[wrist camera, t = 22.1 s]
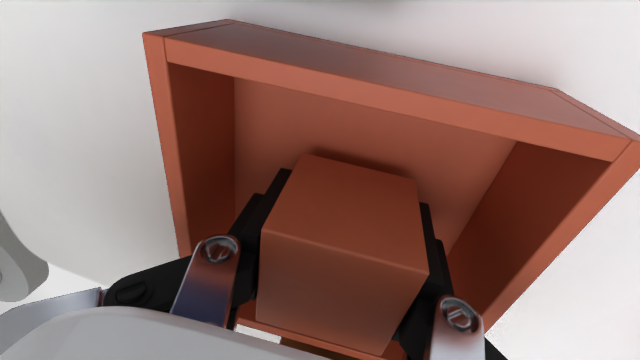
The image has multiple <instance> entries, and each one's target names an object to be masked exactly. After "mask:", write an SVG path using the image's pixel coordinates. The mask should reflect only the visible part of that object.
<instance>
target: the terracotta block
mask: <svg viewBox="0 0 640 360" xmlns="http://www.w3.org/2000/svg"><path fill="white" fill-rule="evenodd" d="M428 276H429V266H428V260H427V253H426V246H425V240H424V233H423V226H422V220H421V213H420V207H419V200H418V193H417V187H416V181H415V180H413V179H409V178H405V177H401V176H397V175H393V174H388V173H384V172H380V171H376V170H372V169H368V168H364V167H360V166H355V165H351V164H347V163H343V162H339V161H335V160H331V159H327V158H322V157H318V156H314V155H310V154H306V153H302V154H301V156H300V158H299V160H298V162H297V163H296V165H295V167H294V169H293V171H292V173H291V175H290V177H289V178H288V180H287V182H286V184H285V186H284V188H283V190H282V191H281V193H280V195H279V197H278V199H277V201H276V203H275V204H274V206H273V208H272V210H271V212H270V214H269V216H268V218H267V219H266V221H265V223H264V225H263V227H262V229H261V240H260V256H259V272H258V288H257V303H256V320H257V321H259V322H263V323H266V324H270V325H273V326H277V327H280V328H284V329H287V330H290V331H294V332H297V333H301V334H304V335H308V336H311V337H315V338H318V339H322V340H325V341H328V342H332V343H335V344H339V345H342V346H346V347H349V348H353V349H356V350H360V351H363V352H367V353H370V354H373V355H377V356H381V355H382V353H383V352H384V350H385V348H386V347H387V345H388V343H389V342H390V340H391V338H392V336H393V335H394V333H395V331H396V330H397V328H398V326H399V325H400V323H401V321H402V320H403V318H404V316H405V315H406V313H407V311H408V310H409V308H410V306H411V304H412V303H413V301H414V299H415V298H416V296H417V294H418V293H419V291H420V289H421V288H422V286H423V284H424V283H425V281H426V279H427V278H428Z"/></svg>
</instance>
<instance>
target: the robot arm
mask: <svg viewBox="0 0 640 360" xmlns="http://www.w3.org/2000/svg"><path fill="white" fill-rule="evenodd" d="M292 171H293V170H290V169H286V168H280V170H279V171H278V173H277V175H276V176H275V178H274V180H273V181H272V183H271V184H270V186H269V188H268V189H267V191H266V193H265V194H260V193H254V194H253V195H252V197H251V198H250V200H249V201H248V203H247V204H246V206H245V207H244V209H243V210H242V212H241V213H240V215H239V216H238V218H237V219H236V221H235V222H234V224H233V225H232V227H231V228H230V230H229V231H228V233H227V234H214V235H210V236H208V237H206V238H204V239H203V240H202V241H200V242H199V243H198V245H197V247H196V249H195V251H194V253H193V254H192V255H189V256H186V257H183V258H180V259H177V260H174V261H171V262H168V263H165V264H162V265H159V266H156V267H153V268H149V269H146V270H143V271H140V272H137V273H134V274H131V275H128V276H126V277H124V278H121V279H120V280H118V281H117V282H115V283H114V284H113V285H112V286H111V287H110V288H109V289H105V290H102V289H101V287H98V288H93V289H89V290H85V291H80V292H76V293H72V294H67V295H63V296H58V297H54V298H50V299H45V300H41V301H37V302H32V303H28V304H24V305H21V306H18V307H15V308H12V309H10V310H9V311H7V312H5V313H3V314H2V315H0V360H332V359H328V358H325V357H322V356H318V355H315V354H311V353H308V352H304V351H301V350H298V349H294V348H291V347H287V346H284V345H280V344H277V343H273V342H270V341H267V340H263V339H260V338H256V337H253V336H249V335H246V334H242V333H239V332H235V331H236V326H237V321H238V315H239V310H240V305H242V304H245V303H247V302H249V300H253V301H255V299H256V296H257V288H258V272H259V256H260V240H261V229H262V227H263V225H264V223H265V221H266V219H267V218H268V216H269V214H270V212H271V210H272V208H273V206H274V204H275V203H276V201H277V199H278V197H279V195H280V193H281V191H282V190H283V188H284V186H285V184H286V182H287V180H288V178H289V177H290V175H291V173H292ZM419 207H420V213H421V220H422V226H423V233H424V240H425V246H426V253H427V260H428V266H429V276H428V278H427V279H426V281H425V283H424V284H423V286H422V288H421V289H420V291H419V293H418V294H417V296H416V298H415V299H414V301H413V303H412V304H411V306H410V308H409V310H408V311H407V313H406V315H405V316H404V318H403V320H402V321H401V323H400V325H399V326H398V328H397V330H396V331H395V333H394V335H393V336H392V338H391V340H394V341H397V342H399V345H400V346H401V347H402V348H403V350H404V353H403V358H402V360H508V359H507V358H506V357H504V356H503V355H502V354H501V353H500V352H499V351H498V350H497V349H496V348H495V347H494V346H493V345H492V344H491V343H490V342H489V341H488V340H487V339H486V338H485V337H484V324H483V320H482V318H481V316H480V314H479V312H478V311H477V310H476V309H475V307H474V306H472V305H471V304H470V303H469V302H468V301H466V300H464V299H463V298H461V297H458V296H455V294H454V290H453V285H452V281H451V276H450V272H449V267H448V263H447V258H446V254H445V249H444V245H443V242H442V241H441V240H440V239H436V238H435V234H434V229H433V224H432V219H431V213H430V208H429V204H427V203H423V202H419ZM1 281H2V276H1V272H0V283H1Z"/></svg>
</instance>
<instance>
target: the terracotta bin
mask: <svg viewBox="0 0 640 360" xmlns="http://www.w3.org/2000/svg"><path fill="white" fill-rule="evenodd" d="M142 37H143V43H144V49H145V55H146V61H147V67H148V73H149V79H150V85H151V91H152V96H153V102H154V108H155V114H156V120H157V126H158V132H159V138H160V144H161V150H162V156H163V161H164V167H165V173H166V179H167V185H168V191H169V197H170V203H171V209H172V215H173V221H174V226H175V232H176V238H177V244H178V250H179V256H180V258H183V257H186V256H189V255H192V254H193V253H194V251H195V249H196V247H197V245H198V243H199V242H200V241H202V240H203V239H204V238H206V237H208V236H210V235H214V234H227V233H228V231H229V230H230V228H231V227H232V225H233V224H234V222H235V221H236V219H237V218H238V216H239V215H240V213H241V212H242V210H243V209H244V207H245V206H246V204H247V203H248V201H249V200H250V198H251V197H252V195H253V194H254V193H260V194H265V193H266V191H267V189H268V188H269V186H270V184H271V183H272V181H273V180H274V178H275V176H276V175H277V173H278V171H279V170H280V168H286V169H290V170H293V169H294V167H295V165H296V163H297V162H298V160H299V158H300V156H301V154H302V153H306V154H310V155H314V156H318V157H322V158H327V159H331V160H335V161H339V162H343V163H347V164H351V165H355V166H360V167H364V168H368V169H372V170H376V171H380V172H384V173H388V174H393V175H397V176H401V177H405V178H409V179H413V180H415V181H416V187H417V193H418V200H419V202H423V203H427V204H429V208H430V213H431V219H432V224H433V229H434V234H435V238H436V239H440V240H441V241H442V242H443V245H444V249H445V254H446V258H447V263H448V267H449V272H450V276H451V281H452V285H453V290H454V294H455V296H458V297H461V298H463V299H464V300H466V301H468V302H469V303H470V304H471V305H472V306H474V307H475V309H476V310H477V311H478V312H479V314H480V316H481V318H482V320H483V324H484V334H485V333H486V332H487V331H488V330H489V329H490V328H491V327H492V326H493V325H494V323H495V322H496V321H497V320H498V319H499V318H500V317H501V316H502V315H503V314H504V313H505V312H506V311H507V310H508V308H509V307H510V306H511V305H512V304H513V303H514V302H515V301H516V300H517V299H518V298H519V297H520V296H521V295H522V293H523V292H524V291H525V290H526V289H527V288H528V287H529V286H530V285H531V284H532V283H533V282H534V281H535V280H536V279H537V277H538V276H539V275H540V274H541V273H542V272H543V271H544V270H545V269H546V268H547V267H548V266H549V265H550V264H551V262H552V261H553V260H554V259H555V258H556V257H557V256H558V255H559V254H560V253H561V252H562V251H563V250H564V249H565V247H566V246H567V245H568V244H569V243H570V242H571V241H572V240H573V239H574V238H575V237H576V236H577V235H578V234H579V233H580V231H581V230H582V229H583V228H584V227H585V226H586V225H587V224H588V223H589V222H590V221H591V220H592V219H593V218H594V216H595V215H596V214H597V213H598V212H599V211H600V210H601V209H602V208H603V207H604V206H605V205H606V204H607V203H608V201H609V200H610V199H611V198H612V197H613V196H614V195H615V194H616V193H617V192H618V191H619V190H620V189H621V188H622V187H623V185H624V184H625V183H626V182H627V181H628V180H629V179H630V178H631V177H632V176H633V175H634V174H635V173H636V172H637V170H638V169H639V168H640V135H639V134H637V133H635V132H634V131H632V130H630V129H628V128H626V127H625V126H623V125H621V124H619V123H617V122H615V121H614V120H612V119H610V118H608V117H606V116H605V115H603V114H601V113H599V112H597V111H596V110H594V109H592V108H590V107H588V106H587V105H585V104H583V103H581V102H579V101H578V100H576V99H574V98H572V97H570V96H569V95H567V94H565V93H563V92H562V91H560V90H558V89H555V88H550V87H546V86H541V85H536V84H531V83H527V82H522V81H517V80H512V79H508V78H503V77H498V76H494V75H489V74H484V73H479V72H475V71H470V70H465V69H460V68H456V67H451V66H446V65H442V64H437V63H432V62H427V61H423V60H418V59H413V58H408V57H404V56H399V55H394V54H390V53H385V52H380V51H375V50H371V49H366V48H361V47H356V46H352V45H347V44H342V43H338V42H333V41H328V40H323V39H319V38H314V37H309V36H304V35H300V34H295V33H290V32H286V31H281V30H276V29H271V28H267V27H262V26H257V25H252V24H248V23H243V22H238V21H234V20H229V19H224V20H219V21H212V22H206V23H199V24H193V25H187V26H180V27H174V28H168V29H161V30H155V31H148V32H143V33H142ZM256 303H257V296H256V299H255V301H253V300H249V302H247V303H245V304H242V305H240V310H239V315H238V321H237V324H240V325H244V326H247V327H250V328H254V329H257V330H261V331H264V332H268V333H271V334H275V335H278V336H282V337H285V338H289V339H292V340H296V341H299V342H303V343H306V344H310V345H313V346H317V347H320V348H323V349H327V350H330V351H334V352H337V353H341V354H344V355H348V356H351V357H355V358H358V359H362V360H402V358H403V353H404V350H403V348H402V347H401V346H400V345H399V342H397V341H394V340H390V342H389V343H388V345H387V347H386V348H385V350H384V352H383V353H382V355H381V356H377V355H373V354H370V353H367V352H363V351H360V350H356V349H353V348H349V347H346V346H342V345H339V344H335V343H332V342H328V341H325V340H322V339H318V338H315V337H311V336H308V335H304V334H301V333H297V332H294V331H290V330H287V329H284V328H280V327H277V326H273V325H270V324H266V323H263V322H259V321H257V320H256Z"/></svg>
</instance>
